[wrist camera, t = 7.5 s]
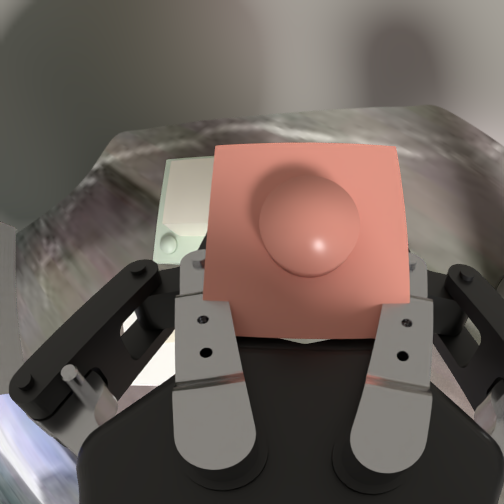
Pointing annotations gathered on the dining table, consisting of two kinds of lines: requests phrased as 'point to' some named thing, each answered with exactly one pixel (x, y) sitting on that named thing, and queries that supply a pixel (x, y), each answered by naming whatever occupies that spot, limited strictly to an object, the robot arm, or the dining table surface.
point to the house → (8, 309)
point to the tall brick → (306, 238)
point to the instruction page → (156, 361)
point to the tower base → (167, 236)
